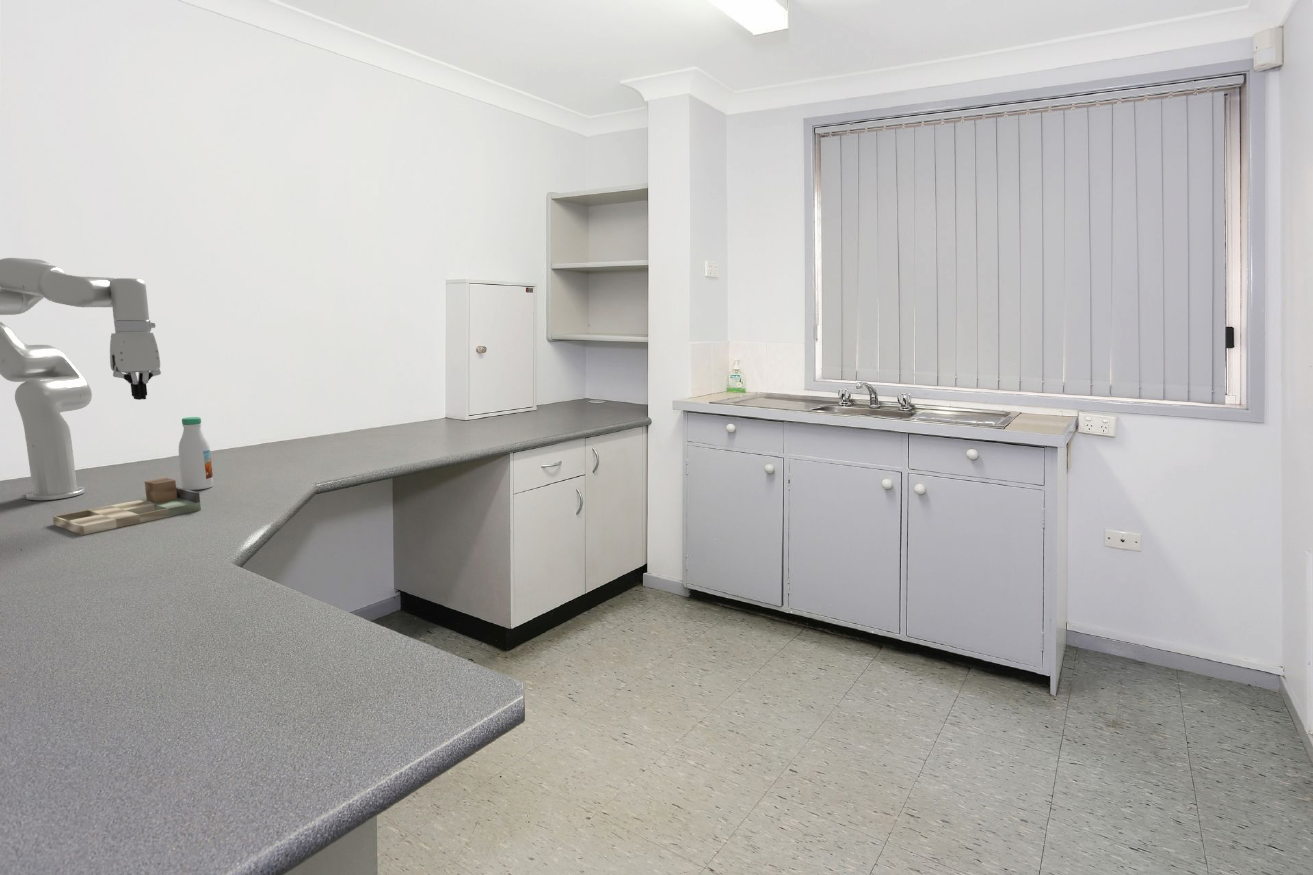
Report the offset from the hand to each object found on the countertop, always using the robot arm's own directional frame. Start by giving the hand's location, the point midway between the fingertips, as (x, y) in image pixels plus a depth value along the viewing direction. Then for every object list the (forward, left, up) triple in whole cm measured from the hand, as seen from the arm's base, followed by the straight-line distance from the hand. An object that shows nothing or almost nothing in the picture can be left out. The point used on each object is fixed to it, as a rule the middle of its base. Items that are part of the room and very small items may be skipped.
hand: (140, 398), depth 200 cm
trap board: (+13, -11, -27) cm, 32 cm away
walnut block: (+11, -2, -25) cm, 27 cm away
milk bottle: (-4, +14, -27) cm, 31 cm away
